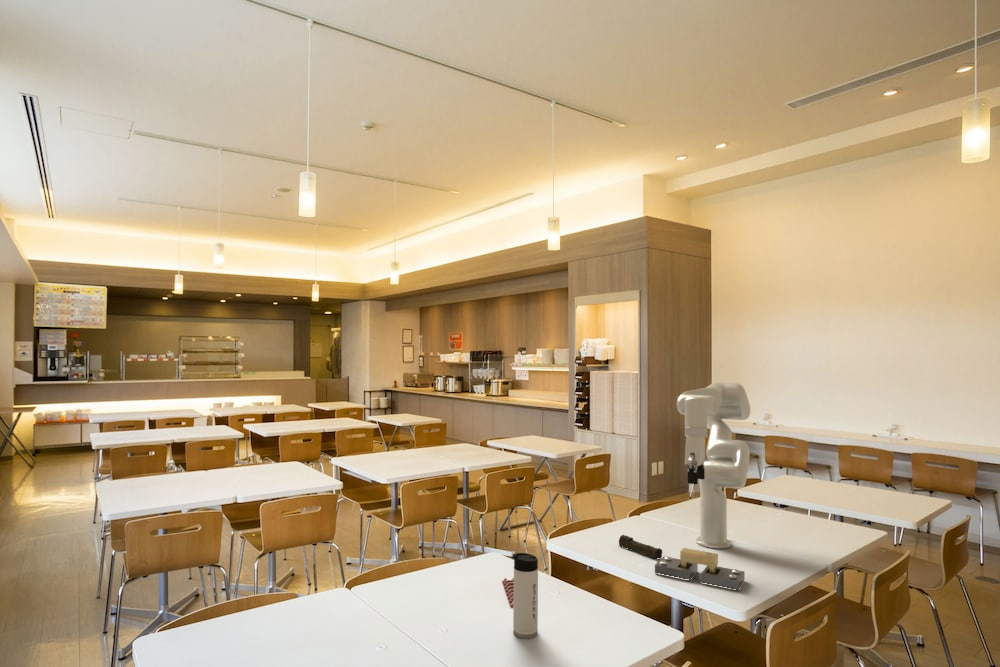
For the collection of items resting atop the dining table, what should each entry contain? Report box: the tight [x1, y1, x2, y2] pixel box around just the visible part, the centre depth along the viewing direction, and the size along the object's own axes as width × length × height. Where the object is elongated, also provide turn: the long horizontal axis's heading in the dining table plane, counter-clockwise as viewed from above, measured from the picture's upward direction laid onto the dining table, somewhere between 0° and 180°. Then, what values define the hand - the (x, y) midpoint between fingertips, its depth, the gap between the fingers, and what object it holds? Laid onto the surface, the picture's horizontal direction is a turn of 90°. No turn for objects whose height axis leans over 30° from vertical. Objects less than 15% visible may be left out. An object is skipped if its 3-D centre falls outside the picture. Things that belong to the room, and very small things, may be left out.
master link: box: [679, 547, 719, 575], centre depth 192 cm, size 4×11×8 cm, turn 57°
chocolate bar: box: [501, 577, 514, 608], centre depth 177 cm, size 7×19×2 cm, turn 7°
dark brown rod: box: [618, 534, 663, 560], centre depth 217 cm, size 19×4×5 cm, turn 34°
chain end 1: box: [654, 556, 699, 581], centre depth 196 cm, size 10×11×4 cm
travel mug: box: [512, 552, 539, 640], centre depth 152 cm, size 6×7×20 cm
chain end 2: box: [700, 565, 745, 591], centre depth 188 cm, size 10×11×4 cm
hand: (696, 481), depth 206 cm, fingers open, 9 cm apart
